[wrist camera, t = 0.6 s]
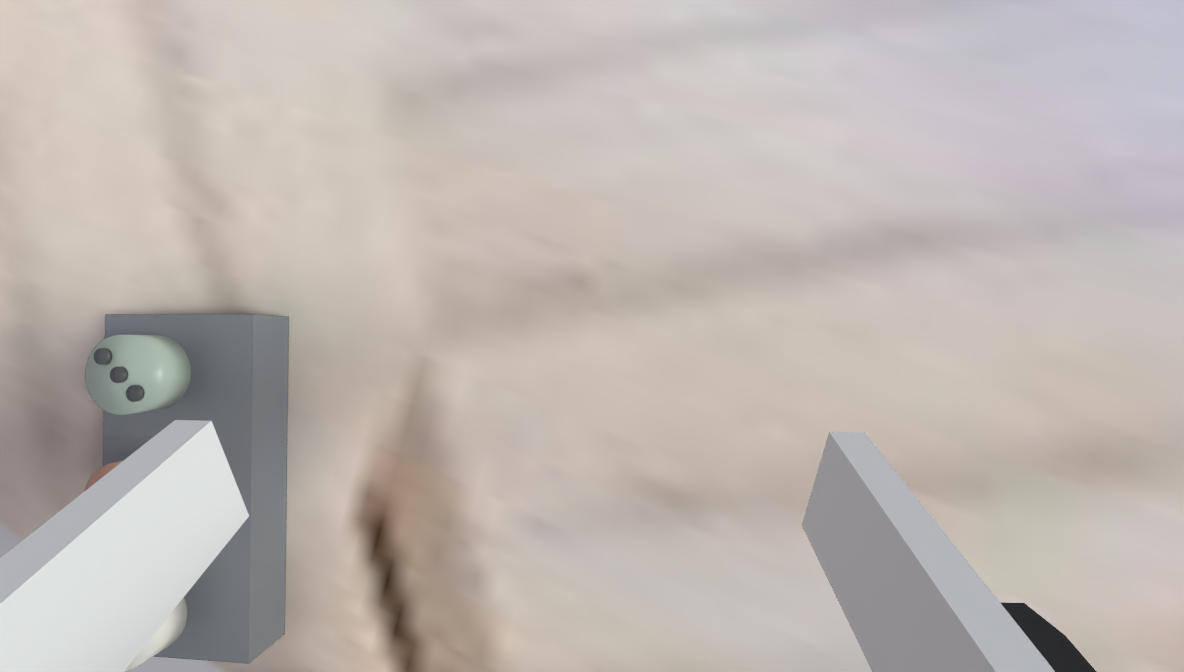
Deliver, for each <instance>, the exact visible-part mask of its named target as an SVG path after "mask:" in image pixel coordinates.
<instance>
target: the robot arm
mask: <svg viewBox="0 0 1184 672" xmlns="http://www.w3.org/2000/svg"><path fill="white" fill-rule="evenodd" d="M248 517H249V514H248V512H247V509H246V507H245V504H244V502H243V499H242V496H241V494H240V491H239V489H238V486H237V484H236V481H235V479H234V476H233V474H232V471H231V469H230V466H229V464H228V461H227V459H226V456H225V454H224V451H223V448H222V446H221V443H220V441H219V438H218V436H217V433H216V431H215V428H214V426H213V423H212V421H200V420H174V421H173V422H172V423H171V424H169V425H168V426H167V427H166V428H164V429H163V430H162V431H160V432H159V433H158V434H157V435H155V436H154V437H153V438H152V439H150V440H149V441H148V442H147V443H145V444H144V445H143V446H141V447H140V448H139V449H138V450H136V451H135V452H134V453H133V454H131V455H130V456H129V457H128V458H126V459H125V460H124V461H122V462H121V463H120V464H119V465H117V466H116V467H115V468H114V469H112V470H111V471H110V472H109V473H107V474H106V475H105V476H103V477H102V478H101V479H100V480H98V481H97V482H96V483H95V484H93V485H92V486H91V487H90V488H88V489H87V490H86V491H84V492H83V493H82V494H81V495H79V496H78V497H77V498H76V499H74V500H73V501H72V502H71V503H69V504H68V505H67V506H65V507H64V508H63V509H62V510H60V511H59V512H58V513H57V514H55V515H54V516H53V517H52V518H50V519H49V520H48V521H46V522H45V523H44V524H43V525H41V526H40V527H39V528H38V529H36V530H35V531H34V532H33V533H31V534H30V535H29V536H27V537H26V538H25V539H24V540H22V541H21V542H20V543H19V544H17V545H16V546H15V547H14V548H12V549H11V550H10V551H8V552H7V553H6V554H5V555H4V556H2V557H1V558H0V672H124V671H125V669H126V668H127V667H128V666H129V664H130V663H131V662H132V661H133V660H134V658H135V657H136V656H137V655H138V653H139V652H140V651H141V650H142V648H143V647H144V646H145V645H146V643H147V642H148V641H149V640H150V638H151V637H152V636H153V635H154V633H155V632H156V631H157V630H158V629H159V627H160V626H161V625H162V624H163V622H164V621H165V620H166V619H167V617H168V616H169V615H170V614H171V612H172V611H173V610H174V609H175V607H176V606H177V605H178V604H179V602H180V601H181V600H182V599H183V597H184V596H185V595H186V594H187V593H188V591H189V590H190V589H191V588H192V586H193V585H194V584H195V583H196V581H197V580H198V579H199V578H200V576H201V575H202V574H203V573H204V571H205V570H206V569H207V568H208V566H209V565H210V564H211V563H212V562H213V560H214V559H215V558H216V557H217V555H218V554H219V553H220V552H221V550H222V549H223V548H224V547H225V545H226V544H227V543H228V542H229V540H230V539H231V538H232V537H233V535H234V534H235V533H236V532H237V531H238V529H239V528H240V527H241V526H242V524H243V523H244V522H245V521H246V519H247V518H248ZM802 527H803V529H804V531H805V533H806V535H807V537H808V539H809V541H810V543H811V545H812V547H813V549H814V551H815V554H816V556H817V558H818V560H819V562H820V564H821V566H822V568H823V570H824V572H825V574H826V576H827V578H828V580H829V583H830V585H831V587H832V589H833V591H834V593H835V595H836V597H837V599H838V601H839V603H840V605H841V607H842V610H843V612H844V614H845V616H846V618H847V620H848V622H849V624H850V626H851V628H852V630H853V632H854V634H855V637H856V639H857V641H858V643H859V645H860V647H861V649H862V651H863V653H864V655H865V657H866V659H867V661H868V663H869V666H870V668H871V670H872V672H1096V671H1095V670H1094V668H1093V667H1092V666H1091V665H1090V664H1089V663H1088V662H1087V660H1086V659H1085V658H1084V657H1083V656H1082V655H1081V653H1080V652H1079V651H1078V650H1077V649H1076V648H1075V647H1074V645H1073V644H1072V643H1071V642H1070V641H1069V640H1068V639H1067V637H1066V636H1065V635H1064V634H1062V633H1061V632H1060V631H1059V630H1057V629H1056V628H1055V627H1054V626H1052V625H1051V624H1050V623H1049V622H1047V621H1046V620H1045V619H1043V618H1042V617H1041V616H1040V615H1038V614H1037V613H1036V612H1035V611H1033V610H1032V609H1031V608H1030V607H1028V606H1027V605H1026V604H1025V603H1000V602H999V601H998V599H997V598H996V597H995V595H994V594H993V593H992V592H991V590H990V589H989V588H988V587H987V585H986V584H985V583H984V582H983V580H982V579H981V578H980V577H979V575H978V574H977V573H976V572H975V570H974V569H973V568H972V567H971V565H970V564H969V563H968V562H967V560H966V559H965V558H964V557H963V555H962V554H961V553H960V552H959V550H958V549H957V548H956V547H955V545H954V544H953V543H952V541H951V540H950V539H949V538H948V536H947V535H946V534H945V533H944V531H943V530H942V529H941V528H940V526H939V525H938V524H937V523H936V521H935V520H934V519H933V518H932V516H931V515H930V514H929V513H928V511H927V510H926V509H925V508H924V506H923V505H922V504H921V503H920V501H919V500H918V499H917V498H916V496H915V495H914V494H913V493H912V491H911V490H910V489H909V487H908V486H907V485H906V484H905V482H904V481H903V480H902V479H901V477H900V476H899V475H898V474H897V472H896V471H895V470H894V469H893V467H892V466H891V465H890V464H889V462H888V461H887V460H886V459H885V457H884V456H883V455H882V454H881V452H880V451H879V450H878V449H877V447H876V446H875V445H874V444H873V442H872V441H871V440H870V439H869V437H868V436H867V435H866V434H865V433H853V432H829V435H828V438H827V441H826V445H825V448H824V452H823V455H822V458H821V462H820V465H819V469H818V472H817V475H816V479H815V482H814V486H813V489H812V492H811V496H810V499H809V503H808V506H807V509H806V513H805V516H804V519H803V523H802Z"/></svg>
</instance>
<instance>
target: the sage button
mask: <svg viewBox="0 0 1184 672" xmlns="http://www.w3.org/2000/svg"><path fill="white" fill-rule="evenodd" d="M190 378H191V367H190V362H189V359H188V356H187V354H186V352H185V351H184V349H183V348H182V347H181V346H180V345H179V344H178V343H177V342H176V341H175V340H173V339H171V338H169V337H166V336H162V335H114V336H111V337H108V338H106V339H104V340H103V341H101V342H100V343H99V344H98V345H97V346H96V347H95V348H94V349H93V351H92V352H91V354H90V356H89V358H88V361H87V364H86V370H85V380H86V386H87V389H88V392H89V394H90V396H91V398H92V399H93V400H94V402H95V403H96V404H97V405H98V406H99V407H100V408H102V409H103V410H105V411H107V412H109V413H112V414H117V415H126V414H133V413H140V412H147V411H154V410H161V409H166V408H169V407H171V406H173V405H174V404H176V403H177V402H178V401H179V400H180V399H181V398H182V397H183V396H184V394H185V392H186V391H187V388H188V386H189V383H190Z"/></svg>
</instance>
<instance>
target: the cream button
mask: <svg viewBox="0 0 1184 672" xmlns="http://www.w3.org/2000/svg"><path fill="white" fill-rule="evenodd" d="M186 620H187V606H186V602H185V599H184V597H183V599H182V600H181V601H180V602H179V604H178V605H177V606H176V607H175V609H174V610H173V611H172V612H171V614H170V615H169V616H168V617H167V619H166V620H165V621H164V622H163V624H162V625H161V626H160V627H159V629H158V630H157V631H156V632H155V633H154V635H153V636H152V637H151V638H150V640H149V641H148V642H147V643H146V645H145V646H144V647H143V648H142V650H141V651H140V652H139V653H138V655H137V656H136V657H135V658H134V660H133V661H132V662H131V663H130V664H129V666H128V667H127V668H126V669H125V671H124V672H126V671H130V670H132V669H134V668H136V667H137V666H139V665H140V664H142V663H143V662H145V661H147V660H148V659H150V658H151V657H153V656H154V655H156V654H157V653H159V652H161V651H162V650H164V649H165V648H167V647H168V646H170V645H171V644H173V643H174V642H175V641H176V640H177V639H178V638H179V637H180V635H181V634H182V632H183V630H184V628H185V625H186Z"/></svg>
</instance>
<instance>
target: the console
mask: <svg viewBox="0 0 1184 672" xmlns="http://www.w3.org/2000/svg"><path fill="white" fill-rule="evenodd" d="M114 335H162V336H166V337H169V338H171V339H173V340H175V341H176V342H177V343H178V344H179V345H180V346H181V347H182V348H183V349H184V351H185V352H186V354H187V356H188V359H189V362H190V367H191V378H190V383H189V386H188V388H187V391H186V392H185V394H184V396H183V397H182V398H181V399H180V400H179V401H178V402H177V403H176V404H174V405H173V406H171V407H169V408H166V409H161V410H154V411H147V412H140V413H133V414H126V415H117V414H112V413H109V412H107V411H105V410H104V425H103V466H105V465H107V464H110V463H114V462H119V461H123V460H125V459H126V458H128V457H129V456H130V455H131V454H133V453H134V452H135V451H136V450H138V449H139V448H140V447H141V446H143V445H144V444H145V443H147V442H148V441H149V440H150V439H152V438H153V437H154V436H155V435H157V434H158V433H159V432H160V431H162V430H163V429H164V428H166V427H167V426H168V425H169V424H171V423H172V422H173V421H174V420H200V421H212V423H213V426H214V428H215V431H216V433H217V436H218V438H219V441H220V443H221V446H222V448H223V451H224V454H225V456H226V459H227V461H228V464H229V466H230V469H231V471H232V474H233V476H234V479H235V481H236V484H237V486H238V489H239V491H240V494H241V496H242V499H243V502H244V504H245V507H246V509H247V512H248V514H249V517H248V518H247V519H246V521H245V522H244V523H243V524H242V526H241V527H240V528H239V529H238V531H237V532H236V533H235V534H234V535H233V537H232V538H231V539H230V540H229V542H228V543H227V544H226V545H225V547H224V548H223V549H222V550H221V552H220V553H219V554H218V555H217V557H216V558H215V559H214V560H213V562H212V563H211V564H210V565H209V566H208V568H207V569H206V570H205V571H204V573H203V574H202V575H201V576H200V578H199V579H198V580H197V581H196V583H195V584H194V585H193V586H192V588H191V589H190V590H189V591H188V593H187V594H186V595H185V596H184V599H185V602H186V606H187V620H186V625H185V628H184V630H183V632H182V634H181V635H180V637H179V638H178V639H177V640H176V641H175V642H174V643H173V644H171V645H170V646H168V647H167V648H165V649H164V650H162V651H161V652H159V653H157V654H156V655H154V656H155V657H168V658H182V659H195V660H208V661H222V662H235V663H250V662H251V661H252V660H254V659H255V658H256V657H257V656H258V655H260V654H261V653H262V652H263V651H265V650H266V649H267V648H268V647H269V646H271V645H272V644H273V643H274V642H276V641H277V640H278V639H279V638H280V637H282V636H283V635H284V634H285V568H286V491H287V413H288V335H289V317H283V316H270V315H256V314H105V339H106V338H108V337H111V336H114Z"/></svg>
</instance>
